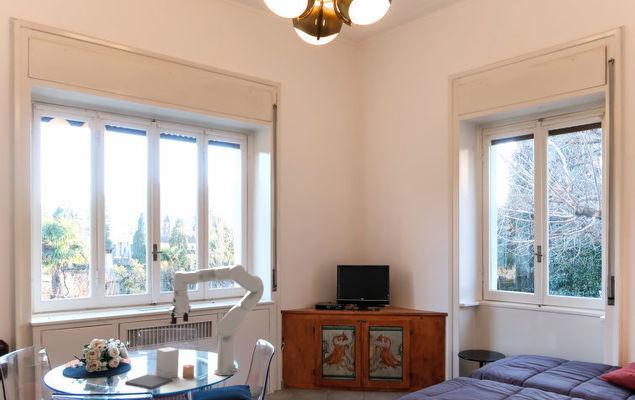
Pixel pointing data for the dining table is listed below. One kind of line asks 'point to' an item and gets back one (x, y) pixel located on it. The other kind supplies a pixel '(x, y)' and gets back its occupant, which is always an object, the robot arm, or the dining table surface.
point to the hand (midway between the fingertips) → (179, 322)
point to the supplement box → (167, 362)
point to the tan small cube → (188, 371)
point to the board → (149, 381)
